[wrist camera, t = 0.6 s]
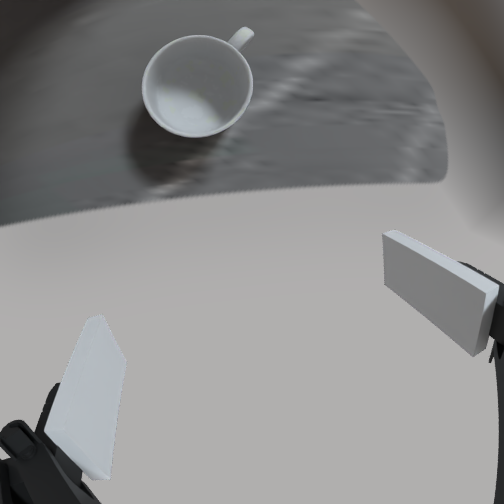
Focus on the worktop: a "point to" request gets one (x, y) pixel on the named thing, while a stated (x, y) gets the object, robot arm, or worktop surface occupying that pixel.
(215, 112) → the teacup
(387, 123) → the worktop surface
